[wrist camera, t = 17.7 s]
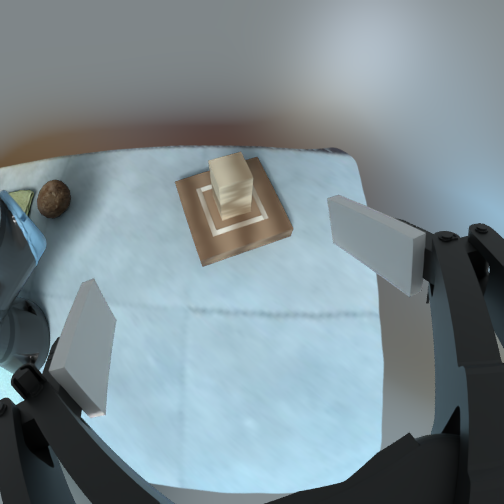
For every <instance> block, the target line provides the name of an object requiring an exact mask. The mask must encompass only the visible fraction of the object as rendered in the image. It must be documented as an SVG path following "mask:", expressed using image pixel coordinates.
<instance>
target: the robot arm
mask: <svg viewBox="0 0 504 504" xmlns="http://www.w3.org/2000/svg"><path fill="white" fill-rule="evenodd" d="M327 201H328V208H329V215H330V222H331V230H332V238H333V243H334V244H335V245H337V246H338V247H340V248H341V249H343V250H344V251H346V252H347V253H349V254H350V255H352V256H353V257H354V258H356V259H357V260H359V261H360V262H362V263H363V264H364V265H366V266H367V267H369V268H370V269H371V270H373V271H374V272H376V273H377V274H378V275H380V276H381V277H383V278H384V279H385V280H387V281H388V282H390V283H391V284H392V285H394V286H395V287H396V288H398V289H399V290H401V291H402V292H403V293H405V294H406V295H407V296H409V297H411V296H413V295H415V294H416V293H418V292H420V291H422V284H423V278H424V279H425V280H427V281H428V282H429V286H428V294H427V302H426V303H429V300H430V307H431V316H432V326H433V339H434V354H435V387H436V389H435V419H434V424H433V428H432V431H431V435H426V436H422V437H419V438H416V439H414V438H413V436H412V435H411V434H410V433H408V434H406V435H405V436H403V437H402V438H401V439H399V440H397V441H396V442H395V443H393V444H391V445H390V446H388V447H387V448H385V449H383V450H381V451H380V452H378V453H377V454H376V455H374V456H373V457H372V458H371V459H370V460H369V461H368V462H367V463H366V464H365V465H364V466H362V467H361V468H360V469H359V470H358V471H357V472H356V473H354V474H353V475H352V476H351V477H350V478H348V479H347V480H346V481H344V482H341V483H337V484H333V485H329V486H324V487H320V488H315V489H310V490H304V491H299V492H296V493H293V494H291V495H288V496H286V497H283V498H280V499H277V500H274V501H271V502H268V503H265V504H504V363H502V361H501V357H500V353H499V349H498V344H497V341H496V337H495V333H496V335H497V337H498V338H499V340H500V342H501V344H502V346H503V348H504V239H503V238H502V237H501V236H500V235H499V234H498V233H497V232H496V231H494V230H493V229H492V228H491V227H489V226H487V225H485V224H481V223H478V224H473V225H471V226H470V227H469V233H468V236H466V237H462V238H460V237H459V236H458V235H457V234H455V233H452V232H449V231H440V232H437V233H435V234H432V233H430V232H428V231H426V230H423V229H421V228H419V227H416V226H415V225H413V224H410V223H408V222H406V221H404V220H401V219H395V218H392V217H390V216H388V215H385V214H383V213H381V212H379V211H376V210H374V209H372V208H369V207H367V206H365V205H362V204H360V203H357V202H355V201H352V200H350V199H347V198H345V197H342V196H340V195H337V196H333V197H330V198H327ZM45 248H46V239H45V237H44V235H43V234H42V232H41V231H40V230H39V229H38V228H37V226H36V225H35V224H34V223H33V222H32V220H31V219H30V218H29V217H28V216H27V215H26V214H25V212H24V211H23V210H22V209H21V207H20V206H19V205H18V204H17V203H16V201H15V200H14V199H13V198H12V197H11V196H10V195H9V193H8V192H7V191H5V190H3V191H1V192H0V366H1V367H3V368H4V369H6V370H8V371H9V372H11V373H13V374H14V375H13V376H12V379H11V385H12V386H13V388H14V389H15V390H16V391H17V392H18V393H19V394H20V395H21V397H22V398H23V399H24V401H22V402H21V403H19V404H17V405H15V404H14V403H13V402H12V401H11V400H10V399H9V398H3V399H1V400H0V492H1V497H2V501H3V504H76V503H75V501H74V499H73V496H72V494H71V492H70V490H69V487H68V485H67V482H66V480H65V477H64V474H63V472H62V469H61V466H60V463H59V461H58V459H59V460H60V462H61V463H62V465H63V466H64V468H65V469H66V470H67V472H68V473H69V474H70V476H71V477H72V479H73V480H74V481H75V483H76V484H77V485H78V487H79V488H80V489H81V490H82V492H83V493H84V494H85V495H86V497H87V498H88V499H89V500H90V501H91V502H92V504H175V503H173V502H172V501H171V500H169V499H168V498H167V497H165V496H164V495H163V494H162V493H160V492H159V491H158V490H156V489H155V488H154V487H153V486H151V485H150V484H149V483H148V482H147V481H145V480H144V479H143V478H142V477H141V476H140V475H138V474H137V473H136V472H135V471H134V470H133V469H132V468H131V467H129V466H128V465H127V464H126V463H125V462H124V461H123V460H122V459H121V458H120V457H119V456H118V455H117V454H116V453H115V452H114V451H113V450H112V449H111V448H110V447H109V446H108V445H107V444H106V443H105V442H104V441H103V440H102V439H101V438H100V437H99V436H98V435H97V434H96V433H95V432H94V431H93V429H92V428H91V427H90V426H89V425H88V424H87V423H86V422H85V421H84V420H83V419H82V418H81V412H82V410H83V411H84V412H85V413H86V414H87V415H88V416H89V417H90V418H92V417H98V416H103V415H106V401H107V389H108V378H109V369H110V360H111V353H112V345H113V338H114V331H115V325H116V319H115V317H114V315H113V313H112V312H111V310H110V308H109V306H108V304H107V302H106V301H105V299H104V297H103V295H102V293H101V291H100V289H99V287H98V285H97V283H96V281H95V279H91V280H88V281H86V282H83V283H82V284H81V286H80V289H79V291H78V293H77V296H76V298H75V300H74V303H73V305H72V307H71V310H70V312H69V315H68V317H67V320H66V322H65V325H64V328H63V330H62V333H61V336H60V337H58V338H57V340H56V341H55V342H54V344H53V345H52V347H51V350H50V353H49V354H50V355H49V356H48V358H47V355H48V351H49V339H50V338H49V329H48V324H47V321H46V318H45V316H44V314H43V312H42V311H41V309H40V308H39V307H38V306H37V305H36V304H35V303H33V302H31V301H29V300H27V299H24V298H19V297H17V295H18V293H19V292H20V290H21V289H22V287H23V285H24V284H25V282H26V281H27V279H28V277H29V276H30V274H31V273H32V271H33V270H34V268H35V267H36V266H37V265H38V261H39V259H40V257H41V256H42V254H43V252H44V250H45ZM488 268H490V273H489V272H488ZM16 297H17V298H16ZM494 331H495V333H494ZM46 358H47V361H46V364H45V367H44V370H43V373H42V374H41V372H40V371H39V370H40V368H41V367H42V366H43V364H44V362H45V360H46ZM57 457H58V458H57Z"/></svg>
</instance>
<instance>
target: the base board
mask: <svg viewBox="0 0 504 504" xmlns="http://www.w3.org/2000/svg"><path fill="white" fill-rule="evenodd" d="M245 161H246V163H247V165H248V167H249V169H250V171H251V174H252V176H253V188H252V200H251V212H248V213H245V214H241V215H238V216H235V217H232V218H229V219H226V220H223V221H222V219H221V216H220V213H219V211H218V208H217V205H216V203H215V200H214V197H213V192H212V184H211V177H210V171H207V172H204V173H200V174H197V175H194V176H191V177H188V178H185V179H182V180H179V181H176V182H175V184H176V187H177V190H178V193H179V197H180V200H181V203H182V206H183V209H184V213H185V216H186V219H187V222H188V225H189V228H190V231H191V234H192V237H193V240H194V243H195V246H196V249H197V252H198V255H199V258H200V261H201V264H202V266H206V265H209V264H212V263H215V262H218V261H220V260H223V259H226V258H229V257H232V256H235V255H238V254H240V253H243V252H246V251H249V250H252V249H255V248H258V247H260V246H263V245H266V244H269V243H272V242H275V241H278V240H281V239H283V238H286V237H289V236H291V233H292V231H293V227H292V225H291V223H290V221H289V219H288V217H287V215H286V213H285V210H284V208H283V206H282V204H281V202H280V200H279V198H278V196H277V194H276V192H275V190H274V188H273V186H272V184H271V182H270V180H269V178H268V177H267V175H266V173H265V171H264V169H263V167H262V165H261V163H260V161H259V159H258V157H255V158H251V159H248V160H245Z"/></svg>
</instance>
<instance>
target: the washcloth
mask: <svg viewBox="0 0 504 504" xmlns="http://www.w3.org/2000/svg"><path fill="white" fill-rule="evenodd" d="M9 195H10V196H11V197H12V198H13V199H14V200H15V201H16V203H17V204H18V205H19V206H20V207H21V209H22V210H23V211H24V212H25V214H26V215H27V216H28V213H29V209H30V205H31V201H32V198H33V195H34V192H33V191H30V190H27V191H25V190H19V191H15V192H11V193H9Z"/></svg>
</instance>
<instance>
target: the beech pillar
mask: <svg viewBox="0 0 504 504" xmlns="http://www.w3.org/2000/svg"><path fill="white" fill-rule="evenodd" d="M208 162H209V169H210V177H211V184H212V192H213V197H214V200H215V203H216V205H217V208H218V211H219V213H220V216H221V219H222V221H223V220H226V219H229V218H232V217H235V216H238V215H241V214H245V213H248V212H251V200H252V188H253V176H252V174H251V171H250V169H249V167H248V165H247V163H246V161H245V159H244V157H243V155H242V153H241V152H238V153H234V154H231V155H227V156H223V157H220V158H216V159H213V160H210V161H208Z"/></svg>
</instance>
